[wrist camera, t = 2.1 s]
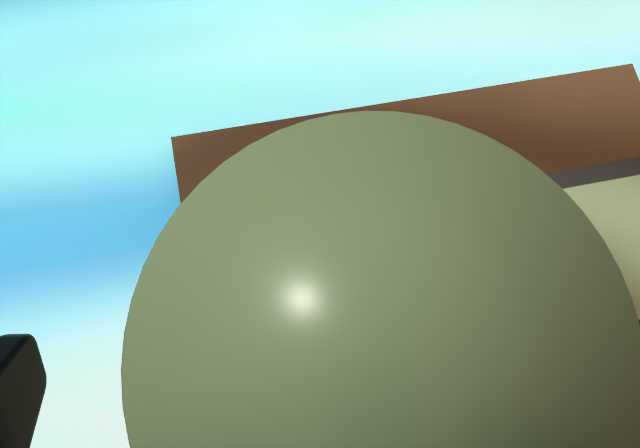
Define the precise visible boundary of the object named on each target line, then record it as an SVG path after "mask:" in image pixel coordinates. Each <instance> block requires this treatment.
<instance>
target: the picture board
mask: <svg viewBox="0 0 640 448" xmlns="http://www.w3.org/2000/svg"><path fill="white" fill-rule="evenodd" d="M358 111H397V112H404V113H411V114H418V115H426V116H430V117H434V118H437V119H441V120H445V121H449V122H452V123H456V124H459V125H461V126H464V127H466V128H469V129H471V130H474V131H477V132H479V133H482V134H484V135H486V136H488V137H490V138H492V139H494V140H496V141H497V142H499V143H501V144H503V145H505V146H507V147H509V148H511V149H512V150H514V151H515V152H517V153H518V154H520V155H521V156H523V157H524V158H525V159H527V160H528V161H530V162H531V163H533V164H534V165H536V166H537V167H538V168H540V169H541V170H542V171H543V172H544V173H545V174H546V175H548V176H549V177H550V178H551V179H552V180H553V181H554V182H556V183H557V184H558V185H559V186H560V187H561V188H562V189H563V190H564V191H565V192H566V193H567V194H568V195H569V196H570V197H571V199H572V200H573V201H574V202H575V203H576V204H577V205H578V206H579V207H580V208H581V210H582V211H583V212H584V213H585V214H586V216H587V217H588V219H589V220H590V221H591V223H592V224H593V225H594V227H595V228H596V230H597V231H598V232H599V234H600V235H601V237H602V238H603V239H604V241H605V243H606V245H607V247H608V248H609V250H610V252H611V254H612V256H613V257H614V259H615V261H616V263H617V264H618V266H619V268H620V271H621V273H622V275H623V278H624V280H625V283H626V285H627V287H628V290H629V292H630V294H631V297H632V299H633V303H634V306H635V310H636V313H637V317H638V319H640V82H639V79H638V77H637V74H636V72H635V69H634V67H633V64H627V65H621V66H615V67H608V68H602V69H596V70H590V71H583V72H577V73H571V74H565V75H558V76H552V77H546V78H540V79H533V80H527V81H521V82H514V83H508V84H502V85H496V86H489V87H483V88H477V89H471V90H464V91H458V92H452V93H446V94H439V95H433V96H427V97H421V98H414V99H408V100H402V101H395V102H389V103H383V104H377V105H370V106H364V107H358V108H352V109H345V110H339V111H333V112H327V113H320V114H314V115H308V116H301V117H295V118H289V119H283V120H276V121H270V122H264V123H258V124H251V125H245V126H239V127H233V128H226V129H220V130H214V131H207V132H201V133H195V134H189V135H182V136H176V137H171V140H172V147H173V154H174V161H175V167H176V174H177V181H178V188H179V194H180V201H181V203H182V202H183V201H184V200H185V199H186V198H187V197H188V195H189V194H190V193H191V192H192V191H193V190H194V189H195V188H196V186H197V185H198V184H199V183H200V182H201V181H202V180H204V179H205V178H206V177H207V176H208V175H209V174H211V173H212V172H213V171H214V170H215V169H216V168H217V167H219V166H220V165H221V164H222V163H223V162H224V161H226V160H227V159H229V158H230V157H232V156H233V155H235V154H236V153H238V152H239V151H241V150H242V149H244V148H245V147H247V146H248V145H250V144H252V143H254V142H256V141H258V140H260V139H262V138H264V137H266V136H268V135H270V134H272V133H274V132H276V131H278V130H280V129H283V128H286V127H289V126H292V125H294V124H297V123H300V122H303V121H306V120H310V119H314V118H319V117H323V116H328V115H332V114H338V113H348V112H358Z"/></svg>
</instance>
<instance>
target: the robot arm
mask: <svg viewBox="0 0 640 448" xmlns="http://www.w3.org/2000/svg"><path fill="white" fill-rule="evenodd" d="M638 320H639V324H640V319H638ZM45 389H46V372H45V369H44V365H43V362H42V359H41V355H40V352H39V349H38V345H37V342H36V340H35V338H34V337H33V336H32V335H30V334H7V335H2V336H0V448H30V444H31V441H32V437H33V433H34V430H35V426H36V422H37V419H38V415H39V411H40V408H41V404H42V400H43V397H44V393H45Z"/></svg>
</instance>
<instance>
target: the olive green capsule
mask: <svg viewBox="0 0 640 448" xmlns="http://www.w3.org/2000/svg"><path fill="white" fill-rule="evenodd" d="M121 380H122V403H123V412H124V417H125V423H126V429H127V434H128V440H129V445H130V448H640V324H639V320H638V317H637V313H636V310H635V306H634V303H633V299H632V297H631V294H630V292H629V290H628V287H627V285H626V283H625V280H624V278H623V275H622V273H621V271H620V268H619V266H618V264H617V263H616V261H615V259H614V257H613V256H612V254H611V252H610V250H609V248H608V247H607V245H606V243H605V241H604V239H603V238H602V237H601V235H600V234H599V232H598V231H597V230H596V228H595V227H594V225H593V224H592V223H591V221H590V220H589V219H588V217H587V216H586V214H585V213H584V212H583V211H582V210H581V208H580V207H579V206H578V205H577V204H576V203H575V202H574V201H573V200H572V199H571V197H570V196H569V195H568V194H567V193H566V192H565V191H564V190H563V189H562V188H561V187H560V186H559V185H558V184H557V183H556V182H554V181H553V180H552V179H551V178H550V177H549V176H548V175H546V174H545V173H544V172H543V171H542V170H541V169H540V168H538V167H537V166H536V165H534V164H533V163H531V162H530V161H528V160H527V159H525V158H524V157H523V156H521V155H520V154H518V153H517V152H515V151H514V150H512V149H511V148H509V147H507V146H505V145H503V144H501V143H499V142H497V141H496V140H494V139H492V138H490V137H488V136H486V135H484V134H482V133H479V132H477V131H474V130H471V129H469V128H466V127H464V126H461V125H459V124H456V123H452V122H449V121H445V120H441V119H437V118H434V117H430V116H426V115H418V114H411V113H404V112H397V111H358V112H348V113H338V114H332V115H328V116H323V117H319V118H314V119H310V120H306V121H303V122H300V123H297V124H294V125H292V126H289V127H286V128H283V129H280V130H278V131H276V132H274V133H272V134H270V135H268V136H266V137H264V138H262V139H260V140H258V141H256V142H254V143H252V144H250V145H248V146H247V147H245V148H244V149H242V150H241V151H239V152H238V153H236V154H235V155H233V156H232V157H230V158H229V159H227V160H226V161H224V162H223V163H222V164H221V165H220V166H219V167H217V168H216V169H215V170H214V171H213V172H212V173H211V174H209V175H208V176H207V177H206V178H205V179H204V180H202V181H201V182H200V183H199V184H198V185H197V186H196V188H195V189H194V190H193V191H192V192H191V193H190V194H189V195H188V197H187V198H186V199H185V200H184V201H183V202H182V203H181V204H180V206H179V207H178V208H177V209H176V211H175V212H174V214H173V215H172V217H171V218H170V220H169V221H168V223H167V224H166V226H165V227H164V228H163V230H162V231H161V233H160V234H159V236H158V238H157V240H156V242H155V244H154V246H153V248H152V250H151V252H150V254H149V256H148V258H147V260H146V262H145V263H144V265H143V268H142V271H141V274H140V277H139V279H138V282H137V285H136V288H135V291H134V293H133V296H132V300H131V304H130V309H129V313H128V318H127V322H126V327H125V332H124V341H123V352H122V364H121Z"/></svg>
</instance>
